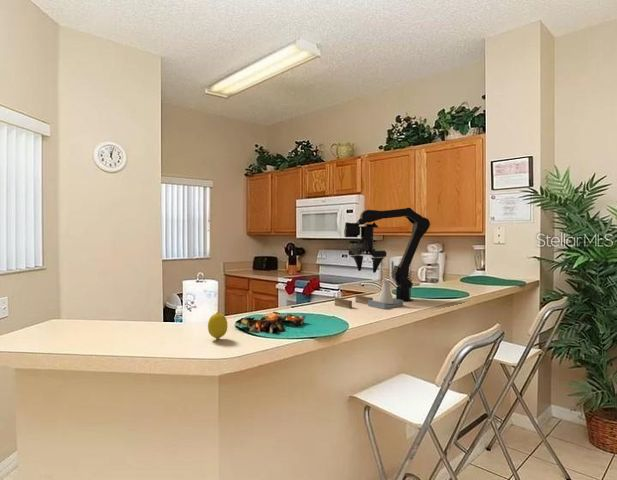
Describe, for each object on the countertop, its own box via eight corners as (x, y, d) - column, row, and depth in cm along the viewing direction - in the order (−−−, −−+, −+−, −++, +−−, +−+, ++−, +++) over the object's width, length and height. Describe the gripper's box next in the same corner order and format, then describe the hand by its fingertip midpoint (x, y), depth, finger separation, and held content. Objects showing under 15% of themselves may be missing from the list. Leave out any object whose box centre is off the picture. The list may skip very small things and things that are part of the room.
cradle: (386, 302, 177) (386, 297, 177) (403, 306, 170) (403, 300, 170) (368, 305, 169) (368, 299, 169) (384, 309, 162) (384, 303, 162)
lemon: (219, 336, 120) (219, 309, 120) (231, 339, 116) (231, 312, 116) (203, 339, 116) (203, 312, 116) (215, 343, 112) (216, 315, 112)
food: (272, 337, 120) (272, 326, 120) (227, 329, 130) (227, 318, 130) (312, 323, 139) (312, 313, 138) (270, 317, 149) (270, 308, 149)
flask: (393, 302, 173) (393, 279, 173) (395, 305, 166) (395, 281, 165) (376, 301, 174) (376, 278, 173) (377, 304, 166) (377, 280, 166)
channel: (357, 301, 179) (357, 295, 179) (372, 304, 172) (372, 297, 172) (334, 305, 170) (334, 298, 170) (349, 308, 163) (349, 301, 163)
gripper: (340, 237, 185) (339, 271, 185) (370, 238, 170) (369, 274, 171) (357, 237, 192) (356, 269, 192) (387, 238, 177) (387, 273, 177)
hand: (366, 271), depth 183 cm, fingers open, 9 cm apart
